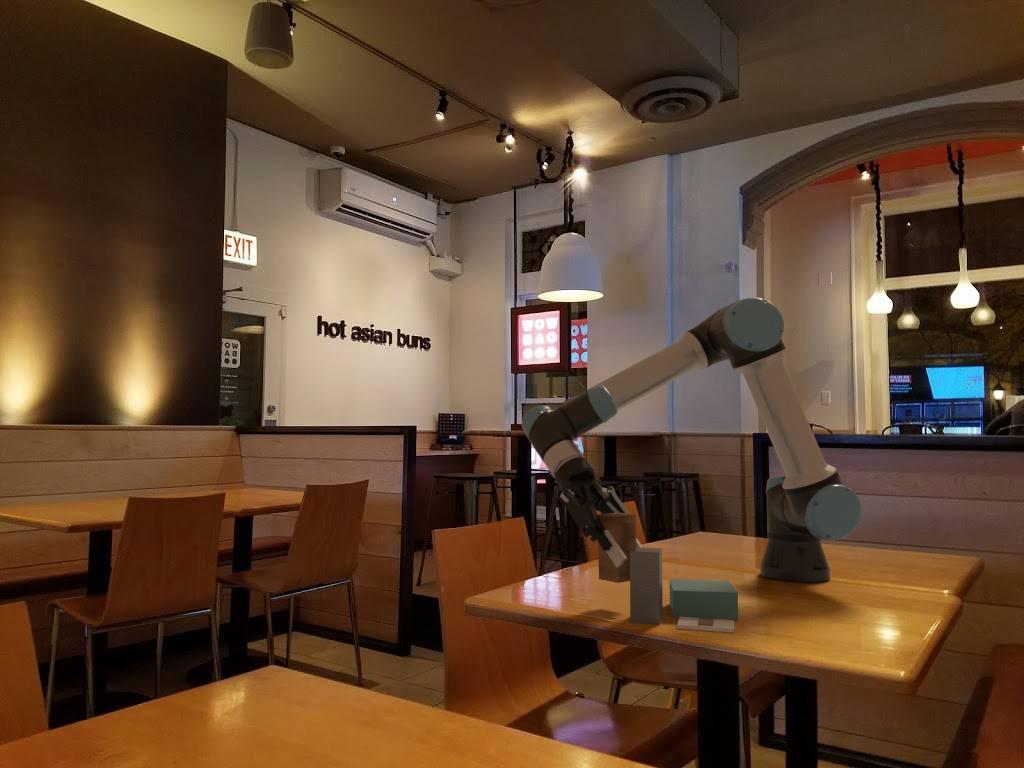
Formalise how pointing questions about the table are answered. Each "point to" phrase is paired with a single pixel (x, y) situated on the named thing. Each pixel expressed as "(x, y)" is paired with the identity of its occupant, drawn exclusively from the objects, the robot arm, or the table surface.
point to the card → (706, 624)
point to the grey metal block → (646, 585)
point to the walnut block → (625, 537)
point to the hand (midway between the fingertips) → (632, 560)
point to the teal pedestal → (703, 599)
